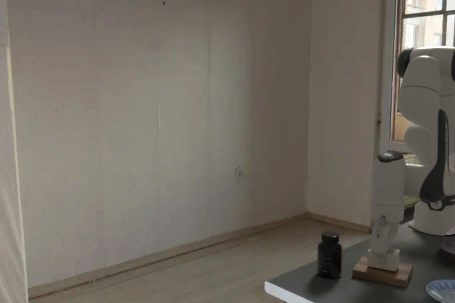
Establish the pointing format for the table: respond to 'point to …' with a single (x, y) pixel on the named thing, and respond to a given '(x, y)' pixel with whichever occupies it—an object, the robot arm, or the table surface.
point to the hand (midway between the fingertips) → (383, 259)
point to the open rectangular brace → (390, 259)
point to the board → (383, 273)
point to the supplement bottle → (329, 256)
